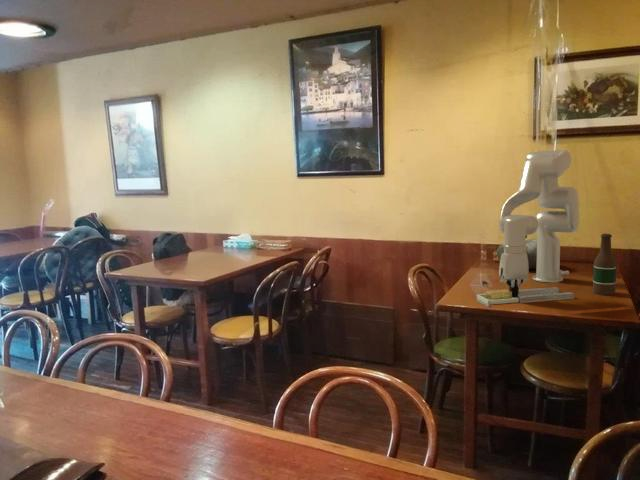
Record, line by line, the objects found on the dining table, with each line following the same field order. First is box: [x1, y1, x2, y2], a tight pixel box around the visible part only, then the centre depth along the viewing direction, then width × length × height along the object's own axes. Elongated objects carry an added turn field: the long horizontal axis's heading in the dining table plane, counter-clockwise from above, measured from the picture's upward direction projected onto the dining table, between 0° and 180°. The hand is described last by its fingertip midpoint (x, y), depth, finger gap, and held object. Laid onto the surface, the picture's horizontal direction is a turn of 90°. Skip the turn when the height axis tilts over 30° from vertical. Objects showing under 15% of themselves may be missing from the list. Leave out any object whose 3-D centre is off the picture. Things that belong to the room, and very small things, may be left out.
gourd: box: [496, 235, 537, 270], centre depth 249 cm, size 25×25×17 cm
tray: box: [475, 293, 520, 308], centre depth 186 cm, size 12×10×2 cm
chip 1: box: [486, 289, 502, 300], centre depth 186 cm, size 4×4×4 cm
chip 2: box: [497, 288, 512, 299], centre depth 186 cm, size 4×4×4 cm
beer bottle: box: [592, 233, 617, 296], centre depth 192 cm, size 8×8×24 cm
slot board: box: [512, 286, 575, 304], centre depth 189 cm, size 22×12×3 cm, turn 98°
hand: (513, 296), depth 187 cm, fingers closed
